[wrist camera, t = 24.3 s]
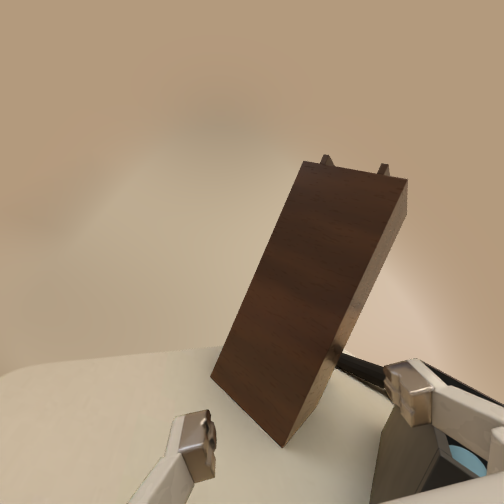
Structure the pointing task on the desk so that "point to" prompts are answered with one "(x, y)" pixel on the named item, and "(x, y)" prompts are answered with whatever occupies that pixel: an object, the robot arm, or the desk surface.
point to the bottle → (468, 460)
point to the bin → (418, 454)
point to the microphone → (362, 369)
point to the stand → (309, 292)
